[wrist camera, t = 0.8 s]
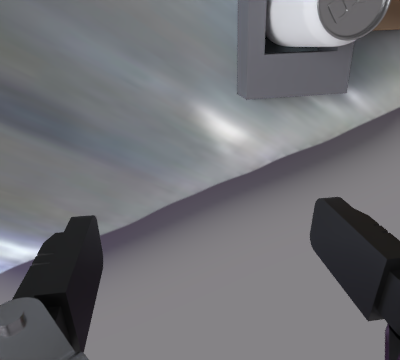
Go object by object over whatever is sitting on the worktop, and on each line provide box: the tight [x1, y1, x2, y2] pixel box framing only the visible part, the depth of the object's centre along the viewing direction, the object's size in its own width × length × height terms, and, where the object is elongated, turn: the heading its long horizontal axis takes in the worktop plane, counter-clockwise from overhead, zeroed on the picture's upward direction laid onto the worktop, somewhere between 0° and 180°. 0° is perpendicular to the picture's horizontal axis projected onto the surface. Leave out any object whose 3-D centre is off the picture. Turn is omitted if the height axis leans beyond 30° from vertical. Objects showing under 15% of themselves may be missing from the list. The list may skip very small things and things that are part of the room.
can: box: [265, 0, 391, 47], centre depth 27 cm, size 6×6×12 cm
